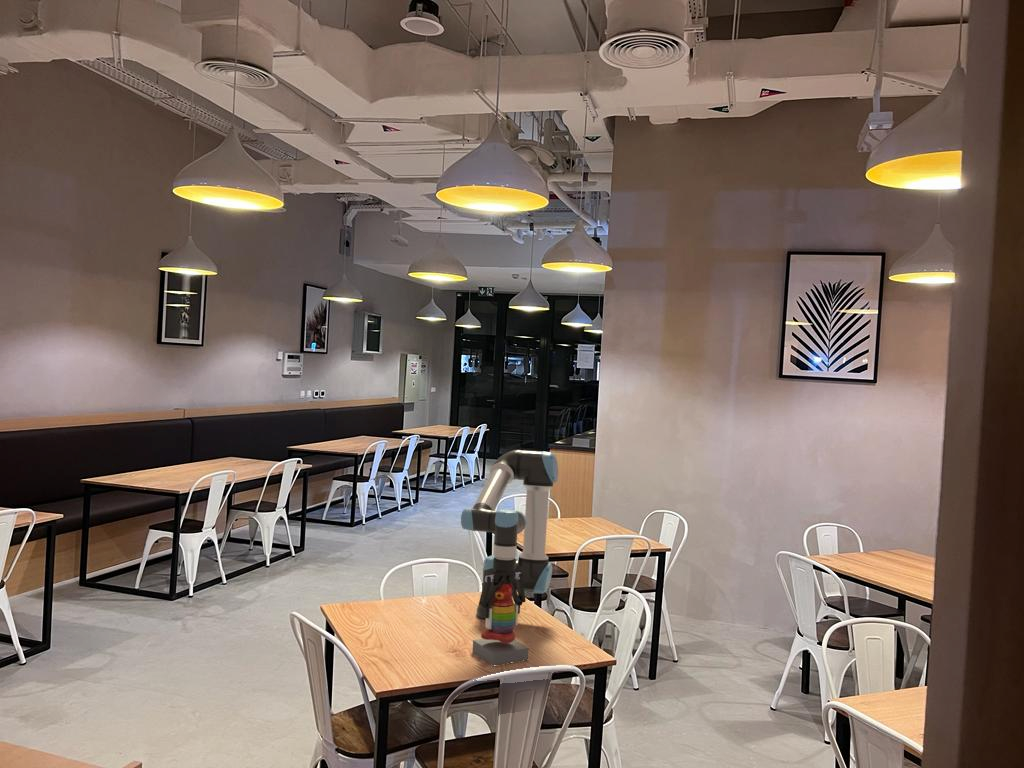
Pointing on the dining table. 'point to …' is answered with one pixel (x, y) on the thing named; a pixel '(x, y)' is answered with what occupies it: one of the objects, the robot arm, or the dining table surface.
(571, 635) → the dining table surface
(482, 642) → the grey block
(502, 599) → the stacking bear
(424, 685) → the dining table surface
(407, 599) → the dining table surface
